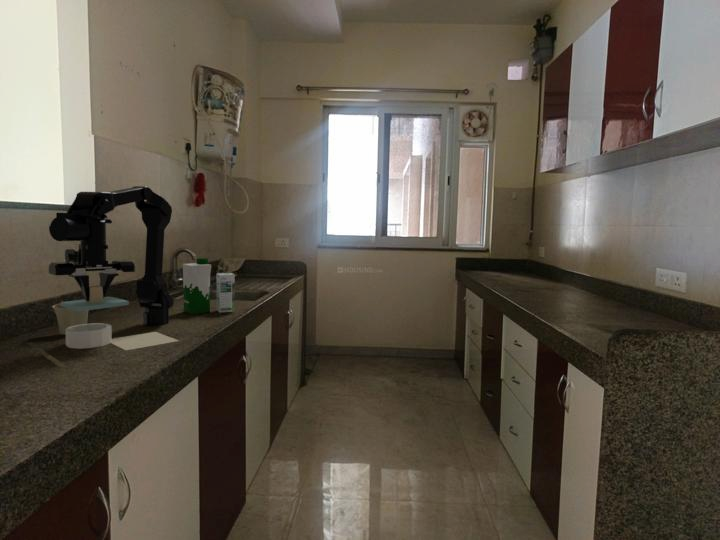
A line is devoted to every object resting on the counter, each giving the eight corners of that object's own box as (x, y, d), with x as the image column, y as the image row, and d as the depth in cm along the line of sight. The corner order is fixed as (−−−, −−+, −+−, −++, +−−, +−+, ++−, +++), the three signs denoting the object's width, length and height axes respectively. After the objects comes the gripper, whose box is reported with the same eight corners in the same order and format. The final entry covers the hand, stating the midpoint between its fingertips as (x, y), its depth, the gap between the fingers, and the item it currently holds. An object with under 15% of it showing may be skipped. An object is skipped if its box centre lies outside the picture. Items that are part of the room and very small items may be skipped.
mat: (155, 334, 132) (155, 331, 132) (179, 343, 123) (179, 340, 123) (104, 342, 122) (104, 339, 122) (126, 353, 113) (125, 350, 112)
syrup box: (219, 313, 166) (219, 274, 165) (216, 310, 172) (216, 272, 170) (234, 312, 169) (235, 273, 168) (231, 309, 174) (231, 272, 173)
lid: (109, 300, 126) (108, 282, 125) (128, 304, 118) (127, 286, 117) (60, 306, 116) (59, 287, 116) (77, 311, 109) (76, 291, 108)
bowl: (102, 339, 125) (102, 321, 124) (117, 346, 118) (116, 327, 118) (61, 345, 117) (60, 327, 117) (74, 353, 111) (73, 333, 110)
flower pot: (73, 339, 124) (72, 309, 123) (44, 337, 125) (43, 306, 125) (99, 332, 133) (99, 303, 132) (72, 329, 135) (71, 301, 134)
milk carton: (213, 312, 167) (213, 259, 165) (189, 315, 160) (189, 259, 159) (203, 309, 173) (203, 257, 171) (180, 311, 167) (179, 258, 165)
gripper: (117, 239, 128) (118, 293, 129) (40, 239, 114) (42, 300, 115) (135, 241, 121) (136, 298, 122) (55, 241, 107) (57, 305, 108)
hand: (94, 300), depth 117 cm, fingers closed on lid, 3 cm apart
